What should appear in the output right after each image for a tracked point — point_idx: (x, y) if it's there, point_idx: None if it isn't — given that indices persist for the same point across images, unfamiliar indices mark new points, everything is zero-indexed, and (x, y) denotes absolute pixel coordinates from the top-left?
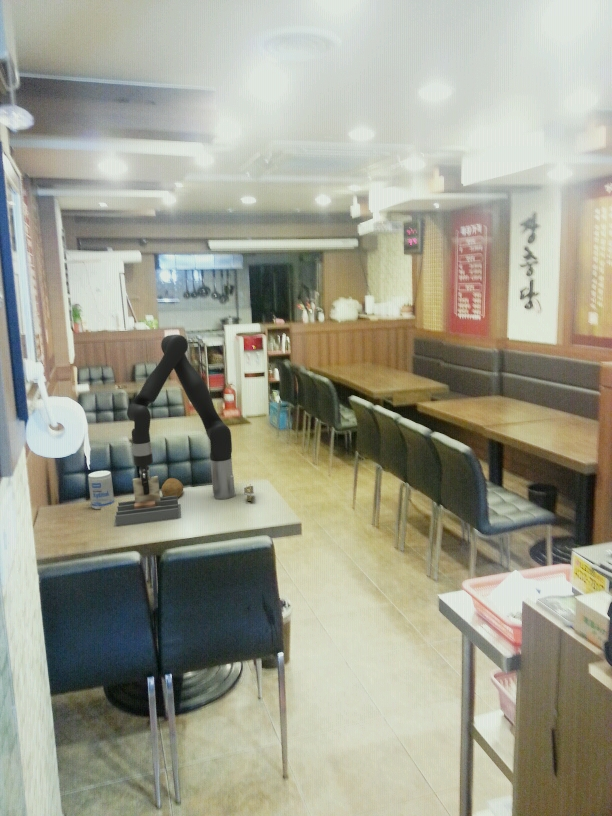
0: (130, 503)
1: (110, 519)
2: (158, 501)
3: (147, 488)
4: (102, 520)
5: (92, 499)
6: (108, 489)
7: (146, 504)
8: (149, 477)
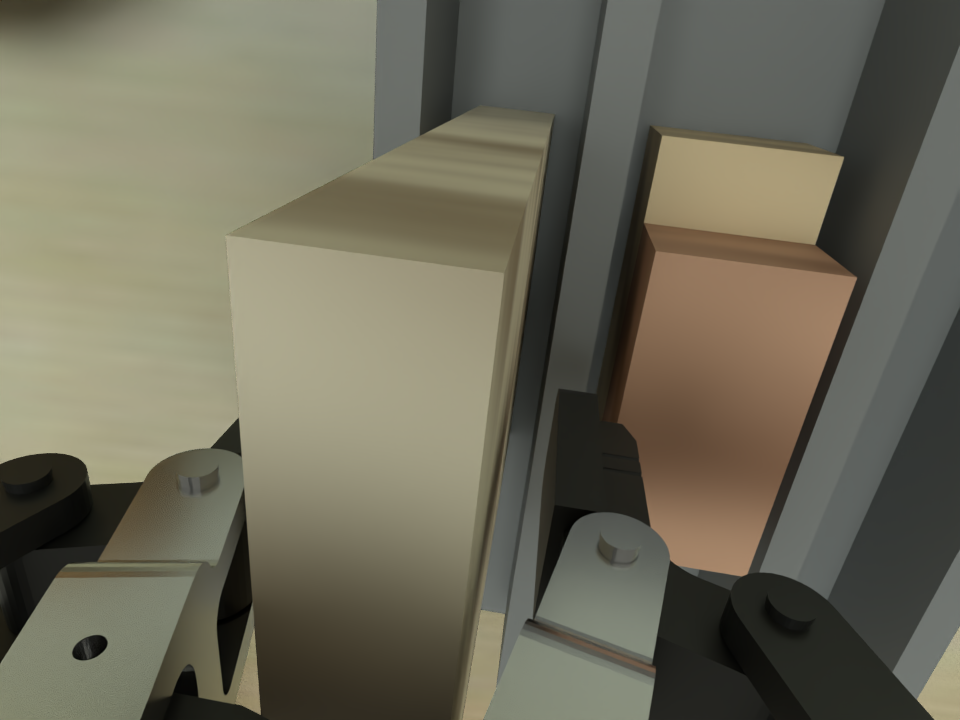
0: None
1: (489, 625)
2: (600, 168)
3: (645, 511)
4: (482, 676)
5: None
6: None
7: (780, 412)
8: (343, 602)
